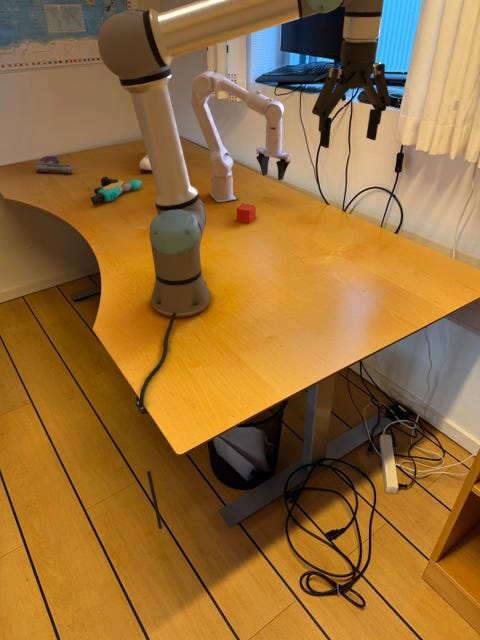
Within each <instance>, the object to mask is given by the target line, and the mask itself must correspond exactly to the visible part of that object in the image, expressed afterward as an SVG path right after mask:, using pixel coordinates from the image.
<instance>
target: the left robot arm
mask: <svg viewBox="0 0 480 640" xmlns="http://www.w3.org/2000/svg"><path fill="white" fill-rule="evenodd" d="M384 1H385V0H196V1H193V2H190V3H186V4H183V5H181V6H178V7H175V8H172V9H169V10H165V11H162V12H159V11H157V10H155V9H153V8H150V9H147V10H143V9H138V8H136V9H128V10H124V11H122V12H119V13H116V14H112V15H111V16H109V17H108V18H107V19H106V20H105V21H104V23H103V24H102V25H101V27H100V29H99V32H98V37H97V47H98V53H99V56H100V59H101V60H102V62H103V64H104V65H105V67H106V68H107V69H108V70H109V71H110V73H112V74H114V75H115V76H117V77H118V79H119V82H120V86H121V88H122V89H124V90H125V91H127V92H128V93H129V94H130V97H131V100H132V104H133V108H134V112H135V115H136V118H137V122H138V126H139V130H140V133H141V137H142V140H143V144H144V147H145V151H146V155H148V159H149V162H150V166H151V169H152V170H151V172H152V176H153V179H154V183H155V188H156V190H157V194H156V196H155V197H154V199H153V202H154V206H155V209H156V212H157V215H155V216H154V217H153V218H152V219H151V221H150V222H149V223H150V224H149V232H148V237H149V241H150V245H151V253H152V260H153V261H152V262H153V268H154V274H155V275H154V276H155V281H154V284H153V290H152V294H151V305H152V308H153V310H154V311H155V312H156V313H157V314H159V315H160V316H163V317H167V318H170V320H169V323H168V327H167V329H166V332H165V335H164V340H163V349H162V350H163V351H162V355H161V358H160V360H159V362H158V363H157V365H155V367H154V368H153V369H152V371H151V372H150V373H149V374H148V375H147V377H146V378H145V380H144V383H143V384H142V387H141V389H140V392H139V394H140V395H139V401H138V407H139V409H142V408H143V407H144V399H145V392H146V389H147V387H148V384H149V382H150V381H151V379H152V378H153V376H154V375H155V374H156V373H157V372H158V371H159V369H160V368H161V367H162V365H163V363H164V362H165V359H166V356H167V352H168V341H169V336H170V333H171V330H172V328H173V325H174V322H175V319H183V318H185V319H186V318H190V317H194V316H196V315H199V314H201V313H202V312H204V311H205V310H207V308H208V307H209V306H210V303H211V294H210V290H209V288H208V284H207V282H206V280H205V278H204V277H203V275H202V262H201V261H202V259H201V245H202V239H203V234H204V230H205V228H206V224H207V212H206V208H205V205H204V203H203V202H202V200H201V198H200V194H199V190H198V189H197V188H196V187H194V186H193V185H192V184H191V181H190V177H189V172H188V169H187V168H188V167H187V164H186V161H185V160H186V159H185V155H184V152H183V151H184V150H183V148H182V143H181V139H180V135H179V130H178V126H177V121H176V117H175V113H174V109H173V105H172V101H171V95H170V91H169V88H168V83H169V82H170V80H171V79H172V71H171V67H170V65H171V63H172V61H173V59H174V58H177V57H181V56H184V55H186V54H190V53H193V52H196V51H199V50H203V49H207V48H209V47H212V46H216V45H219V44H223V43H225V42H228V41H231V40H234V39H238V38H242V37H244V36H249V35H251V34H255V33H257V32H260V31H265V30H268V29H270V28H274V27H276V26H277V27H278V26H280V25H282V24H286V23H290V22H293V21H297V20H299V19H304V18H307V17H310V16H313V15H317V14H327V13H329V12H334V10H336V9H337V8H342V7H344V9H345V10H344V21H343V31H342V38H343V39H344V40H343V41H342V42H341V48H340V49H341V50H340V61H341V65H340V66H339V68H337V67H333V66H329V67H328V68H327V73H326V78H325V81H324V83H323V85H322V87H321V90H320V92H319V94H318V96H317V98H316V100H315V102H314V105H313V108H312V110H311V114H312V115H314V116H318V117H319V118H318V128H317V129H318V132H319V133H320V134H319V146H320V147H322V148H325V149H329V148H330V139H331V130H332V129H331V128H332V120H333V119H332V117H330V115H331V114H332V113H333V112H334V110H335V109H336V107H337V105H338V104H339V103H340V101H341V99H342V98H343V97H344V96H345V94H346V93H348V92H349V91H350V90H355V89H362V90H363V91H364V93H365V94H366V96H367V99H368V101H369V102H370V105H371V106H372V108H371V109H369V115H368V122H367V129H366V135H365V136H366V139H368V140H370V141H376V140H377V134H378V128H379V125H380V124H381V120H382V115H383V112H385V111H386V110H387V108H388V107H390V106H391V103H392V102H391V98H390V94H389V89H388V84H387V80H386V76H385V74H386V73H385V72H386V64H385V63H381V62H375V60H376V59H377V53H378V46H379V43H378V41H377V39H378V38H379V37H380V32H381V24H382V16H383V15H382V14H383V7H384ZM372 75H373V80H372ZM374 85H375V86H374ZM146 475H147V480H148V484H149V488H150V494H151V497H152V502H153V507H154V511H155V516H156V521H157V526H158V530H162V529H163V525H162V521H161V515H160V511H159V505H158V501H157V496H156V492H155V491H156V490H155V485H154V481H153V477H152V472H151V470H146Z"/></svg>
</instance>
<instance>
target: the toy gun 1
mask: <svg viewBox="0 0 480 640" xmlns="http://www.w3.org/2000/svg"><path fill="white" fill-rule="evenodd" d="M34 170H35V171H37V172H39V173H41V172H43V173H54V174H55V173H56V174H73V170H74V165H71V164H66V163H65V164H63V163H62V164H61V163H60V158H59V156H58V155H45V156H43V157H41V159H40V162H36V165H35V167H34Z"/></svg>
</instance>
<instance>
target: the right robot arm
mask: <svg viewBox="0 0 480 640" xmlns="http://www.w3.org/2000/svg"><path fill="white" fill-rule="evenodd" d="M218 92H225V93H226V94H229V95H231V96H233V97H235V98H237V99H239V100H242V101H243V102H244V104H245V107H246V108H248V109H250V110H252V111H254V112H256V113H258V114H259V115H261V116H264V118H265V120H266V121H265V122H266V123H265V147H256V149H255V150H256V152H255V153H256V155H257V156H256V157H255V158H256V160H257V162H258V164H259V167H260V170H261V176H263V177H264V176H267V175H268V172H269V161H270V158H273V159H277V161H275V163H276V167H277V180H278V181H282V180H284V177H285V174H286V171H287V168H288V166H289V165H290V163H291V162H292V155H291V154H289V153H286V152H284V151H282V149H283V146H282V145H283V144H282V143H283V117H282V116H283V115H284V112H285V107H284V104H283V103H282V102H280V101H279V100H278V99H274V98H272V97H270V98H269V97H268V96H267V95H264V94H262V91H261V90H260V89H257V90H255V89H252V90H250V91H249V90H247V89H245V88H244V87H242V86H240V85H239V84H237V83H236V82H234V81H232V80H230V79H229V78H228V77H226V76H224V75H223V74H221V73H218V72H216V71H215V70H212V69H206V70H204V71H203V72H201V73H199V74H198V75H196V76H195V78H194V79H193V81H192V83H191V100H190V103H191V107H192V110H193V112H194V115H195V117H196V120H197V122H198V125H199V128H200V130H201V132H202V136H203V137H204V140H205V143H206V145H207V148H208V150H209V154H210V156H209V157H210V158H209V160H210V161H209V162H210V163H211V172H212V176H211V181H210V182H211V192H210V193H209V195H210V197H211V198H213V199H214V200H215V202H216V203H224V202H231V201H236V200H237V199H238V198H237V196H235V195H234V178H233V177H234V176H233V175H234V173H233V171H232V168H233V167H234V159H233V156H231V154H230V153H229V151H228V150H227V148H225V146H224V144H223V142H222V139H221V137H220V134H219V131H218V128H217V126H216V124H215V120H214V118H213V116H212V113H211V109H210V107H209V104H208V101H209V99H210V98H211V95H212V93H218Z"/></svg>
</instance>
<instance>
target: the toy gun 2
mask: <svg viewBox="0 0 480 640" xmlns="http://www.w3.org/2000/svg"><path fill="white" fill-rule="evenodd" d="M100 184H101V187H100V186H98V187H96V188H94V189H93V192H94V194H95V195H93V196H91V197H90V200H91V203H92V205H93V206H95V205H96V204H99V203H100V202H103V201H104V202H106V203H107V202H112V201H113V200H115V199H117V198H118V197H119V196H120V195H121V194H122V193H126V192H128V191H130V190H132V191H136V190H139V188H140V187H141V186H142V184H143V183H142V181H141V180H138V179H132V180H131V179H130V181H129V182H125V181H124V180H121V179H112V178H109V177H108V176H103V177H101V179H100Z"/></svg>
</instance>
